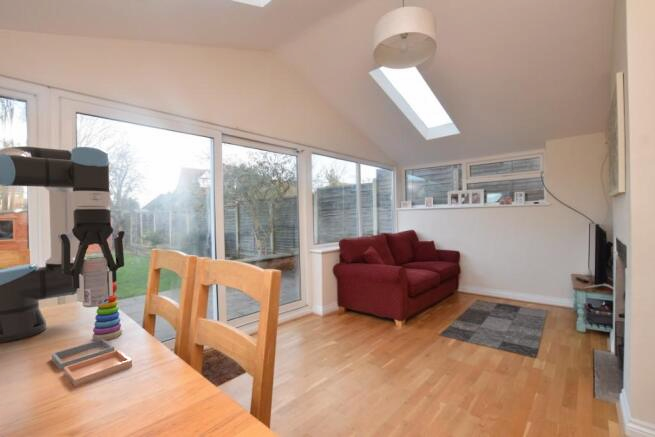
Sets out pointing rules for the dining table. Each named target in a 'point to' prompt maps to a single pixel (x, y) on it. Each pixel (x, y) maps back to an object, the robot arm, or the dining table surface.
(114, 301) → the stacking toy
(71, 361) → the grey rectangular frame
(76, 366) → the terracotta dish
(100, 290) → the energy drink
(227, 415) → the dining table surface
